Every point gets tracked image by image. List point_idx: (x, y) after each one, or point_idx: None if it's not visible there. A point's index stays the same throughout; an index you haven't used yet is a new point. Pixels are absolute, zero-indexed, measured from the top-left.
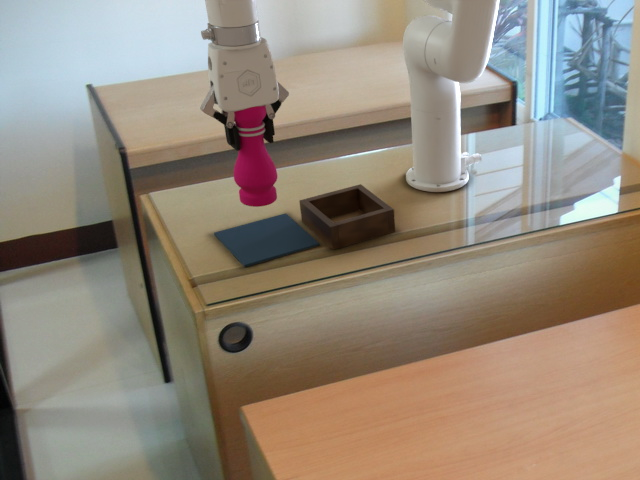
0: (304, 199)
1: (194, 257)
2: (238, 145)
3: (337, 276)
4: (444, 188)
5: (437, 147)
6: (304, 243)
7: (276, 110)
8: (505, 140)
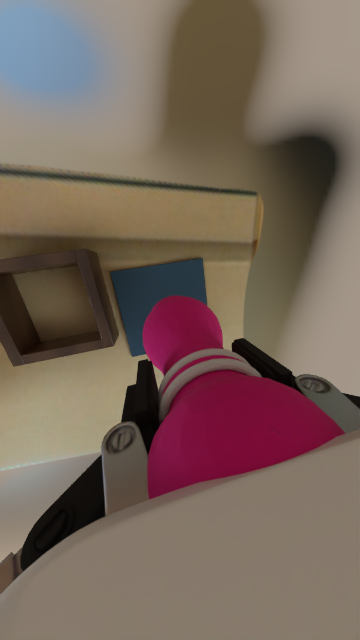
0: (106, 346)
1: (237, 301)
2: (244, 343)
3: (105, 178)
4: None
5: None
6: (127, 278)
7: (84, 477)
8: None
